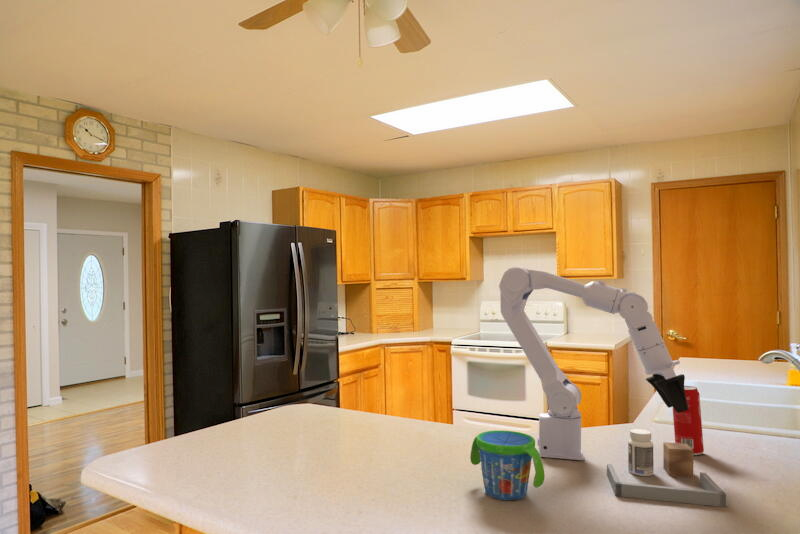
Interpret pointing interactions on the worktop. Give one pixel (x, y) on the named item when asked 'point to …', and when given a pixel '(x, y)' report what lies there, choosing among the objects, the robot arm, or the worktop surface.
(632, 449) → the pill bottle
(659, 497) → the corral
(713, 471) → the worktop surface
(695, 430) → the beverage can
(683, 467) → the walnut block
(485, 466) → the snack cup
